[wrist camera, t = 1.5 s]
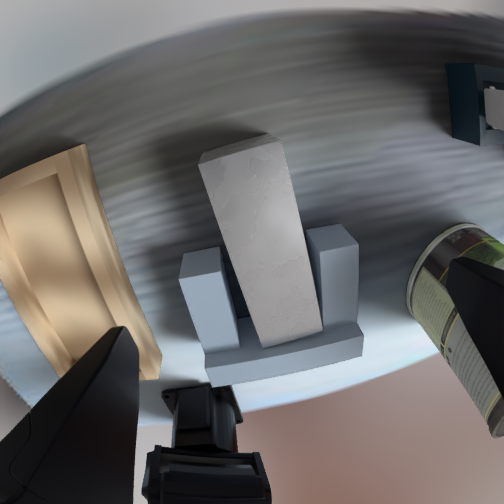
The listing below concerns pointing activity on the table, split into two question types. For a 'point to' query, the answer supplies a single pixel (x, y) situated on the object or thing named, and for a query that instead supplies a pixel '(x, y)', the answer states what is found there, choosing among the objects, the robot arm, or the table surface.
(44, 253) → the oak tray
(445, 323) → the coffee can
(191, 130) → the table surface
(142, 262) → the table surface
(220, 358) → the bracket
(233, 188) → the steel block
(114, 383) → the robot arm
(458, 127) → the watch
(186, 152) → the table surface
